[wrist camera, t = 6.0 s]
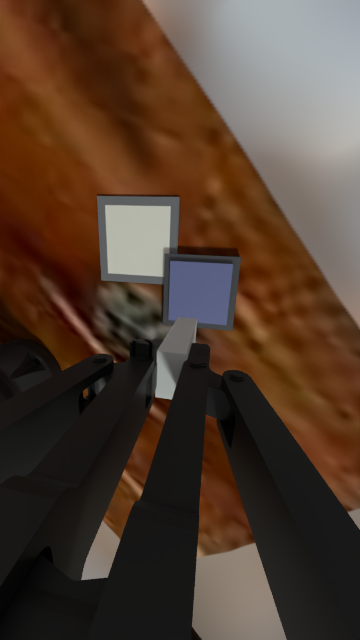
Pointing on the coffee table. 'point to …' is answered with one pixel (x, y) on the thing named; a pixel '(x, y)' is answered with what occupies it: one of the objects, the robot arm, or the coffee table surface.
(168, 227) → the grey picture frame
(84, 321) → the coffee table surface
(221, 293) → the ink pad
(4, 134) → the coffee table surface
